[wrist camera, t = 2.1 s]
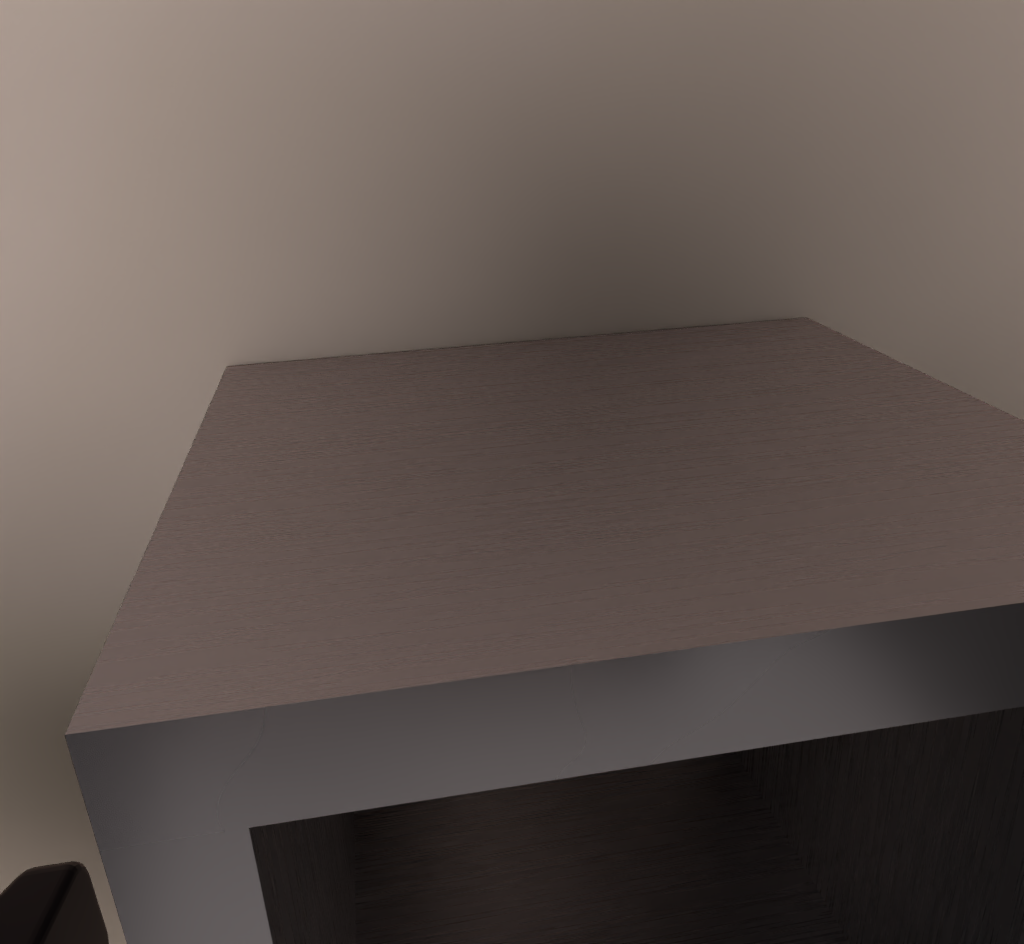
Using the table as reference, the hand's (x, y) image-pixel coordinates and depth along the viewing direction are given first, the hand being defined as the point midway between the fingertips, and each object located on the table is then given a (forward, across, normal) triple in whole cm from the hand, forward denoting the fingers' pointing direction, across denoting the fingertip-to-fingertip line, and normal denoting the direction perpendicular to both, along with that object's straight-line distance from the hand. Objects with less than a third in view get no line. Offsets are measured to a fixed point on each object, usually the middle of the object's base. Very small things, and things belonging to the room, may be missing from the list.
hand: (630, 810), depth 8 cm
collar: (+4, 0, 0) cm, 4 cm away
